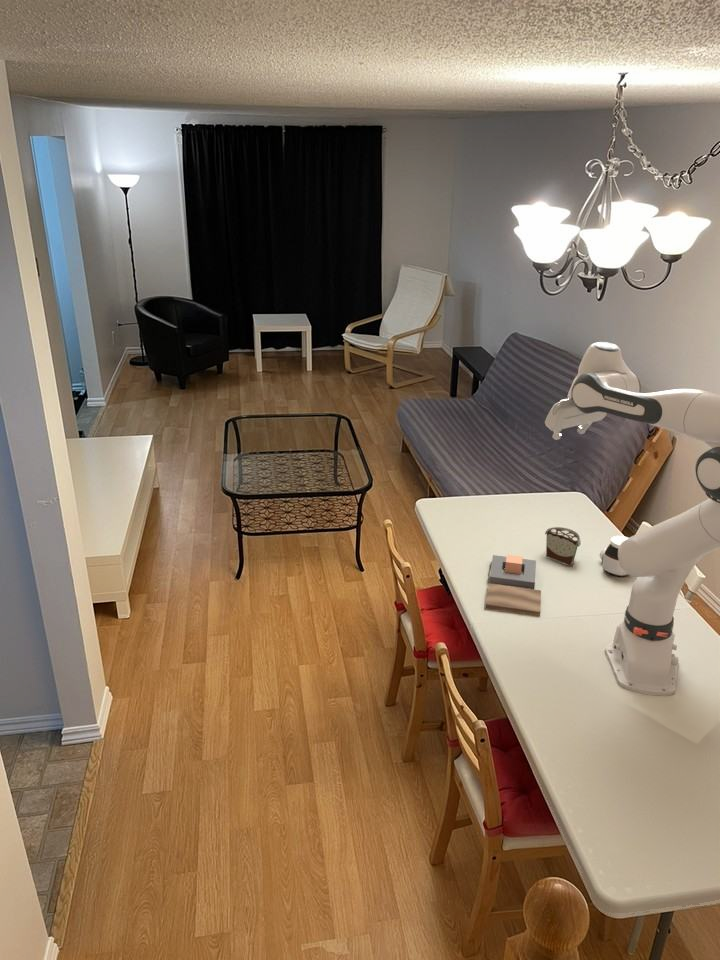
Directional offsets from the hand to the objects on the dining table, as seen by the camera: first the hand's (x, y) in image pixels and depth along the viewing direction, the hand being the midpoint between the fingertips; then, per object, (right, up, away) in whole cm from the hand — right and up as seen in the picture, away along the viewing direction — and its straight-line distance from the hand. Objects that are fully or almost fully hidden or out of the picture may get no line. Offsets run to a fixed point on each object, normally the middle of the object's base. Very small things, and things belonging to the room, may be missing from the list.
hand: (568, 435), depth 210 cm
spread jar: (+24, -42, +32) cm, 58 cm away
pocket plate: (-10, -43, +28) cm, 53 cm away
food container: (+9, -39, +38) cm, 56 cm away
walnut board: (-13, -50, +14) cm, 53 cm away
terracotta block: (-10, -44, +28) cm, 53 cm away
